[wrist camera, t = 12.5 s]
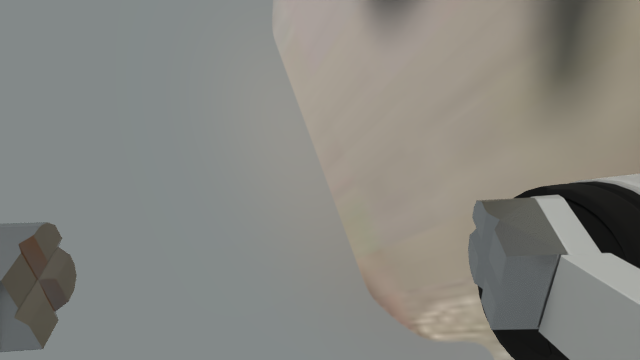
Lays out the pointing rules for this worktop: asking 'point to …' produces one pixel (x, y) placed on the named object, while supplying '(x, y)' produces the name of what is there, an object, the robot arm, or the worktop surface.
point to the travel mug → (605, 230)
